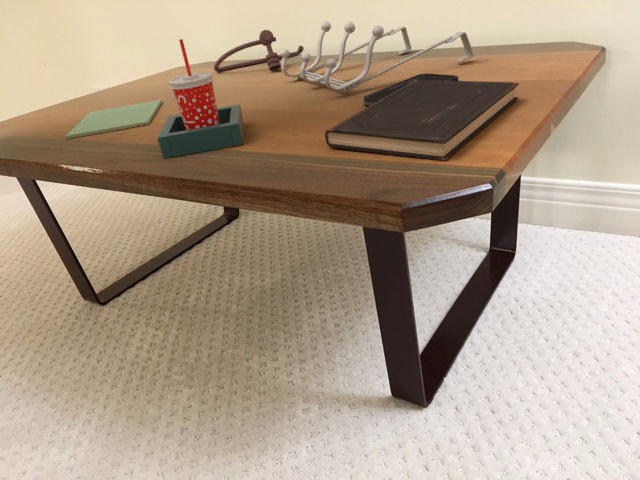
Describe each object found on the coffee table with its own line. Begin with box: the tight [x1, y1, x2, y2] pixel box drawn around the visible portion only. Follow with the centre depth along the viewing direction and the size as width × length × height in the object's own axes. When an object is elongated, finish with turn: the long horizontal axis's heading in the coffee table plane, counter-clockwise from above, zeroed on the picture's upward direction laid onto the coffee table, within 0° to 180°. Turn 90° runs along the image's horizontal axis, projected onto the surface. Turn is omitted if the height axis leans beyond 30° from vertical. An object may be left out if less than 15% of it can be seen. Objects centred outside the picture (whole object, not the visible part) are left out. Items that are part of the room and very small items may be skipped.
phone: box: [363, 73, 459, 107], centre depth 84 cm, size 8×1×15 cm
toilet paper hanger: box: [213, 29, 305, 73], centre depth 122 cm, size 22×8×14 cm
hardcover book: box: [324, 80, 520, 162], centre depth 70 cm, size 16×23×2 cm
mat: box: [64, 99, 163, 140], centre depth 98 cm, size 14×16×1 cm
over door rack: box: [280, 20, 474, 94], centre depth 99 cm, size 22×29×10 cm
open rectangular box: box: [157, 103, 245, 160], centre depth 78 cm, size 11×11×3 cm
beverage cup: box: [168, 38, 220, 130], centre depth 75 cm, size 6×6×14 cm
